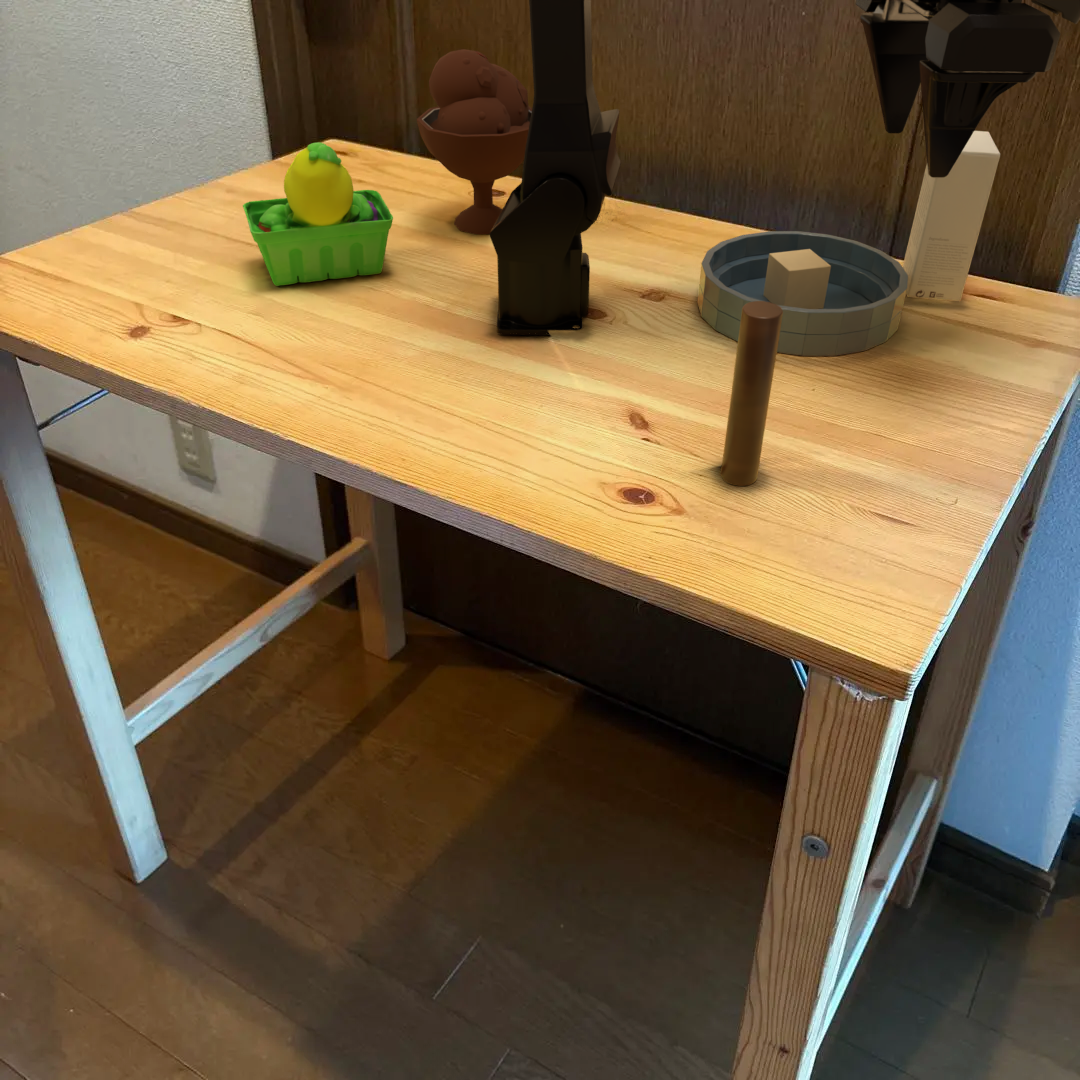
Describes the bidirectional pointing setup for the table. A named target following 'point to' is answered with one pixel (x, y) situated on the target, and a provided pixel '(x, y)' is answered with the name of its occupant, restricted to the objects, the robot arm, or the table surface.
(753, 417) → the stick
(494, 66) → the ice cream bowl
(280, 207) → the fruit basket
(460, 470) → the table surface
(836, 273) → the bowl
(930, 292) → the cosmetic box
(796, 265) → the block
